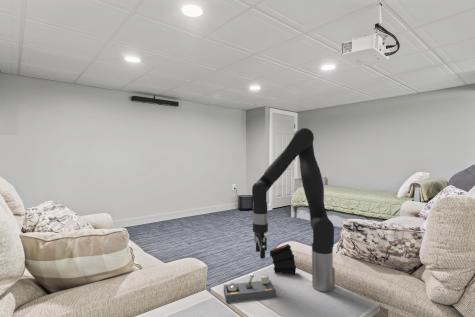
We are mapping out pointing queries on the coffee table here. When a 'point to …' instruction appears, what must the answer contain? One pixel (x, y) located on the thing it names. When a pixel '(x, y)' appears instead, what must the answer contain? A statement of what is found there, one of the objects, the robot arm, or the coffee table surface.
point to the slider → (265, 279)
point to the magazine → (283, 260)
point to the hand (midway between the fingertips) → (260, 254)
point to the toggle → (251, 278)
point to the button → (232, 288)
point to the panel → (250, 291)
